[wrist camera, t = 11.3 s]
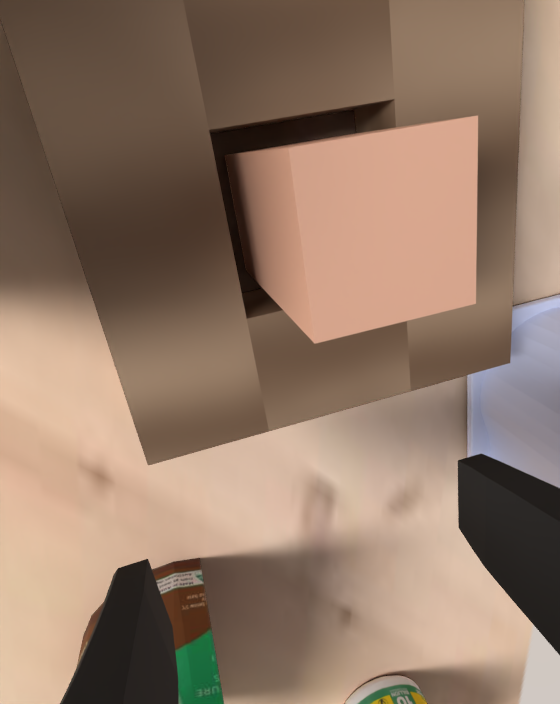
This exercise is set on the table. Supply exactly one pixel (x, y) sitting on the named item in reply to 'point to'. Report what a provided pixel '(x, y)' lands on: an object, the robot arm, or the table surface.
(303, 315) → the terracotta peg
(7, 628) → the table surface
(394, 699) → the supplement bottle
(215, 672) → the food container
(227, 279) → the walnut stand board
